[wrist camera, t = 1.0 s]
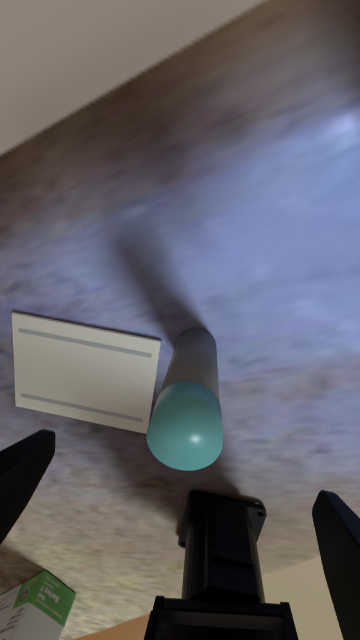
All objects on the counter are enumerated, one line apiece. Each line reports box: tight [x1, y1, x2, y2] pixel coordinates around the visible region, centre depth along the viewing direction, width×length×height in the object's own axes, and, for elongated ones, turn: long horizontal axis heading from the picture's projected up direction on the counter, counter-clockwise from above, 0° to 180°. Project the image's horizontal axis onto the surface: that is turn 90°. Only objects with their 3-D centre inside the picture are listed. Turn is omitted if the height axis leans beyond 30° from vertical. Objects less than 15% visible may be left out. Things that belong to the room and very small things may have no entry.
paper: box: [12, 312, 161, 434], centre depth 20 cm, size 8×11×1 cm
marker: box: [146, 328, 223, 471], centre depth 14 cm, size 3×3×9 cm
